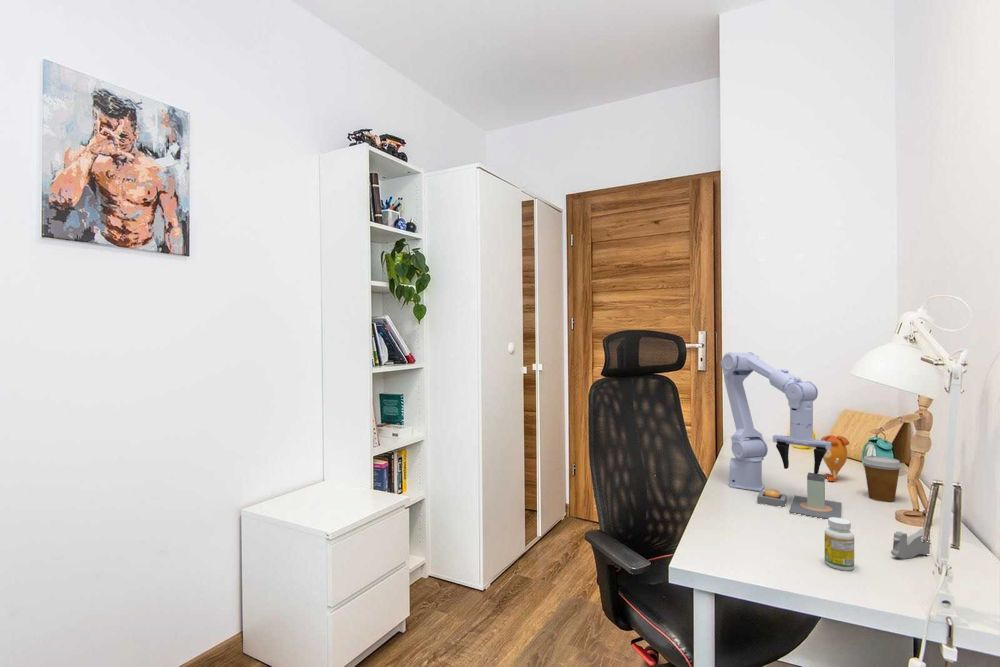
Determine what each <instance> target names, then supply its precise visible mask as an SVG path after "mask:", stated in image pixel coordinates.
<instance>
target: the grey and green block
mask: <svg viewBox="0 0 1000 667" xmlns="http://www.w3.org/2000/svg"><path fill="white" fill-rule="evenodd" d="M806 485H807V486H806V497H807V507H810V508H815V509H821V510H824V508H825V500H826V478H825V475H824V474H821V473H818V474H814V472H808V473H807V475H806Z"/></svg>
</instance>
